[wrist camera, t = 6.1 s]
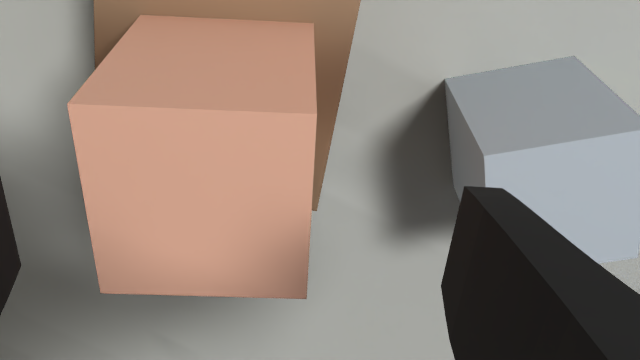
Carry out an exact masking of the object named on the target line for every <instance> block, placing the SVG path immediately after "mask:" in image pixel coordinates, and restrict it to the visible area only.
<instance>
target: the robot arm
mask: <svg viewBox="0 0 640 360" xmlns="http://www.w3.org/2000/svg"><path fill="white" fill-rule="evenodd" d="M20 267H21V263H20V258H19V254H18V250H17V246H16V241H15V237H14V233H13V229H12V224H11V220H10V216H9V212H8V207H7V203H6V199H5V195H4V190H3V186H2V182H1V178H0V315H1V312H2V310H3V308H4V306H5V304H6V301H7V299H8V297H9V294H10V292H11V289H12V287H13V285H14V282H15V280H16V277H17V275H18V272H19V270H20ZM441 288H442V295H443V302H444V309H445V316H446V322H447V328H448V333H449V339H450V343H451V347H452V350H453V354H454V357H455V360H640V294H638V293H637V292H635V291H634V290H633V289H631V288H630V287H628V286H627V285H626V284H624V283H623V282H622V281H620V280H619V279H618V278H616V277H615V276H614V275H612V274H611V273H610V272H608V271H607V270H606V269H604V268H603V267H602V266H601V265H599V264H598V263H597V262H595V261H594V260H593V259H592V258H590V257H589V256H588V255H587V254H585V253H584V252H583V251H582V250H580V249H579V248H578V247H576V246H575V245H574V244H573V243H572V242H570V241H569V240H568V239H567V238H565V237H564V236H563V235H562V234H560V233H559V232H558V231H557V230H556V229H554V228H553V227H552V226H551V225H549V224H548V223H547V222H546V221H545V220H543V219H542V218H541V217H540V216H538V215H537V214H536V213H535V212H534V211H532V210H531V209H530V208H529V207H527V206H526V205H525V204H524V203H522V202H521V201H520V200H518V199H517V198H516V197H514V196H513V195H512V194H510V193H509V192H507V191H506V190H505V189H503V188H492V187H474V186H464V189H463V194H462V198H461V202H460V206H459V211H458V215H457V219H456V224H455V228H454V232H453V236H452V241H451V245H450V249H449V254H448V258H447V262H446V267H445V271H444V275H443V279H442V284H441Z"/></svg>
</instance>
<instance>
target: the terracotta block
mask: <svg viewBox="0 0 640 360" xmlns="http://www.w3.org/2000/svg"><path fill="white" fill-rule="evenodd" d="M67 106H68V112H69V117H70V123H71V129H72V134H73V140H74V146H75V151H76V157H77V163H78V168H79V174H80V180H81V185H82V191H83V197H84V202H85V208H86V214H87V219H88V225H89V231H90V236H91V242H92V248H93V253H94V259H95V265H96V270H97V276H98V282H99V287H100V293H107V294H143V295H180V296H216V297H252V298H289V299H306V298H307V281H308V263H309V246H310V229H311V211H312V194H313V176H314V159H315V141H316V124H317V100H316V73H315V46H314V23H298V22H278V21H258V20H237V19H217V18H196V17H175V16H155V15H140V16H139V17H138V18H137V20H136V21H135V22H134V23H133V25H132V26H131V27H130V28H129V29H128V31H127V32H126V33H125V34H124V35H123V37H122V38H121V39H120V40H119V42H118V43H117V44H116V45H115V46H114V48H113V49H112V50H111V51H110V52H109V54H108V55H107V56H106V57H105V59H104V60H103V61H102V62H101V63H100V65H99V66H98V67H97V68H96V69H95V71H94V72H93V73H92V74H91V76H90V77H89V78H88V79H87V80H86V82H85V83H84V84H83V85H82V86H81V88H80V89H79V90H78V91H77V93H76V94H75V95H74V96H73V97H72V99H71V100H70V101H69V102H68V103H67Z"/></svg>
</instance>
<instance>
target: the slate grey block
mask: <svg viewBox="0 0 640 360" xmlns="http://www.w3.org/2000/svg"><path fill="white" fill-rule="evenodd" d="M445 90H446V102H447V114H448V127H449V139H450V151H451V163H452V176H453V186H454V188H455V191H456V193H457V196H458V199H459V201H460V202H461V198H462V194H463V189H464V186H474V187H492V188H503V189H505V190H506V191H507V192H509V193H510V194H512V195H513V196H514V197H516V198H517V199H518V200H520V201H521V202H522V203H524V204H525V205H526V206H527V207H529V208H530V209H531V210H532V211H534V212H535V213H536V214H537V215H538V216H540V217H541V218H542V219H543V220H545V221H546V222H547V223H548V224H549V225H551V226H552V227H553V228H554V229H556V230H557V231H558V232H559V233H560V234H562V235H563V236H564V237H565V238H567V239H568V240H569V241H570V242H572V243H573V244H574V245H575V246H576V247H578V248H579V249H580V250H582V251H583V252H584V253H585V254H587V255H588V256H589V257H590V258H592V259H593V260H594V261H595V262H597V263H598V264H599V263H605V262H612V261H619V260H625V259H632V258H638V253H639V245H640V115H638V114H637V113H636V112H635V111H634V110H633V109H632V108H631V107H630V106H629V105H628V104H626V103H625V102H624V101H623V100H622V99H621V98H620V97H619V96H618V95H617V94H616V93H614V92H613V91H612V90H611V89H610V88H609V87H608V86H607V85H606V84H605V83H604V82H602V81H601V80H600V79H599V78H598V77H597V76H596V75H595V74H594V73H593V72H591V71H590V70H589V69H588V68H587V67H586V66H585V65H584V64H583V63H582V62H581V61H579V60H578V59H577V58H576V57H575V56H571V57H565V58H560V59H554V60H548V61H543V62H537V63H531V64H526V65H520V66H515V67H509V68H503V69H498V70H492V71H486V72H481V73H475V74H469V75H464V76H458V77H453V78H447V79H445Z"/></svg>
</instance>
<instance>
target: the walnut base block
mask: <svg viewBox="0 0 640 360" xmlns="http://www.w3.org/2000/svg"><path fill="white" fill-rule="evenodd" d="M360 1H361V0H94V42H95V69H96V68H97V67H98V66H99V65H100V63H101V62H102V61H103V60H104V59H105V57H106V56H107V55H108V54H109V52H110V51H111V50H112V49H113V48H114V46H115V45H116V44H117V43H118V42H119V40H120V39H121V38H122V37H123V35H124V34H125V33H126V32H127V31H128V29H129V28H130V27H131V26H132V25H133V23H134V22H135V21H136V20H137V18H138V17H139V16H140V15H155V16H175V17H196V18H217V19H237V20H258V21H278V22H298V23H314V46H315V73H316V100H317V124H316V141H315V159H314V176H313V194H312V211H317V207H318V202H319V197H320V193H321V188H322V183H323V178H324V173H325V169H326V164H327V159H328V154H329V150H330V145H331V140H332V135H333V130H334V126H335V121H336V116H337V111H338V106H339V102H340V97H341V92H342V87H343V83H344V78H345V73H346V68H347V63H348V59H349V54H350V49H351V44H352V39H353V35H354V30H355V25H356V20H357V16H358V11H359V6H360Z"/></svg>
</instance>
